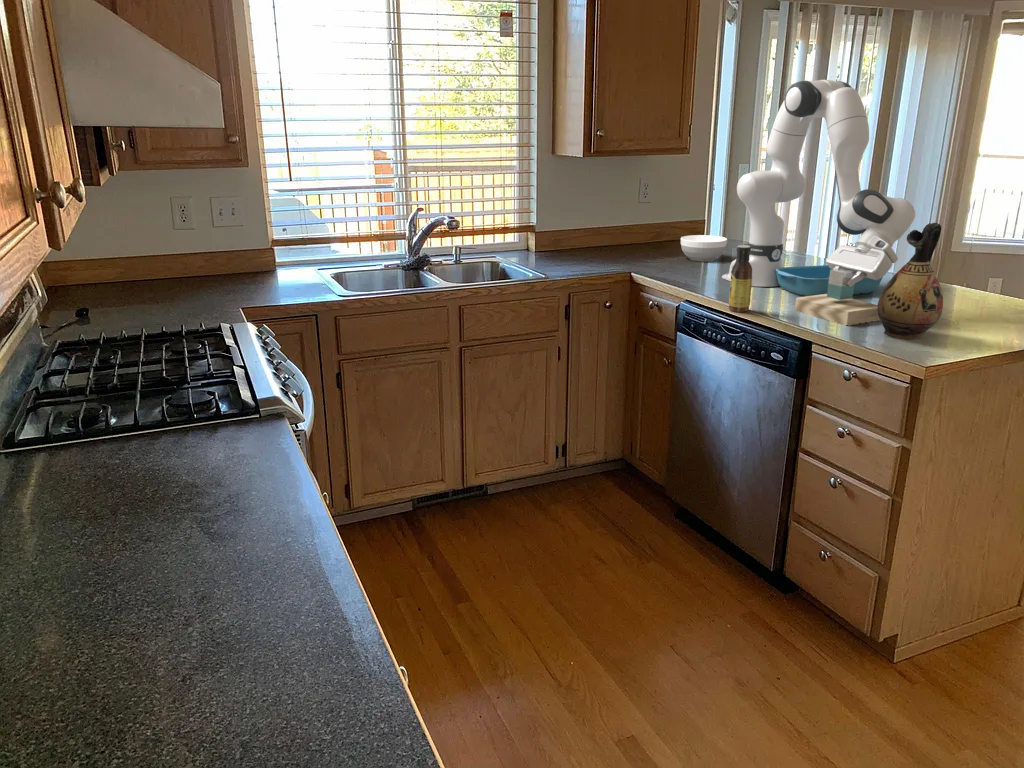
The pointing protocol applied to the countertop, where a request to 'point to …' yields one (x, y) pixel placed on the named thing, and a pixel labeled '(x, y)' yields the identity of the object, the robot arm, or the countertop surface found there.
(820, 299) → the wooden block
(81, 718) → the countertop surface
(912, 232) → the ceramic jug
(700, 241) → the bowl
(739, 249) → the sauce bottle
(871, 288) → the casserole dish
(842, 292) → the white and teal block
